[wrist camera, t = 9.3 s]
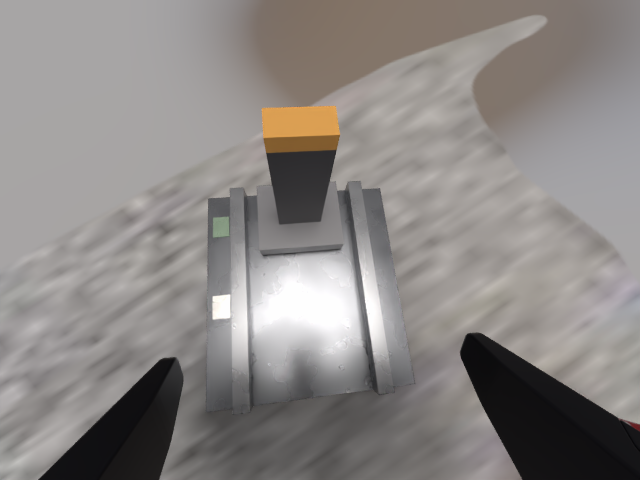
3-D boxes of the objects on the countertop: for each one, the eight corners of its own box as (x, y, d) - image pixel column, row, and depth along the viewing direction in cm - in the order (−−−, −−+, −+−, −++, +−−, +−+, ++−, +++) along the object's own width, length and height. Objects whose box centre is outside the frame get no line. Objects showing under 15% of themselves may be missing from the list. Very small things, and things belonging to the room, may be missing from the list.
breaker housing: (404, 378, 21) (424, 388, 18) (214, 403, 20) (198, 419, 16) (373, 198, 25) (385, 179, 22) (215, 208, 24) (202, 189, 21)
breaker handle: (341, 248, 21) (384, 172, 11) (261, 255, 21) (223, 181, 10) (333, 189, 23) (364, 71, 12) (259, 194, 22) (223, 73, 12)
